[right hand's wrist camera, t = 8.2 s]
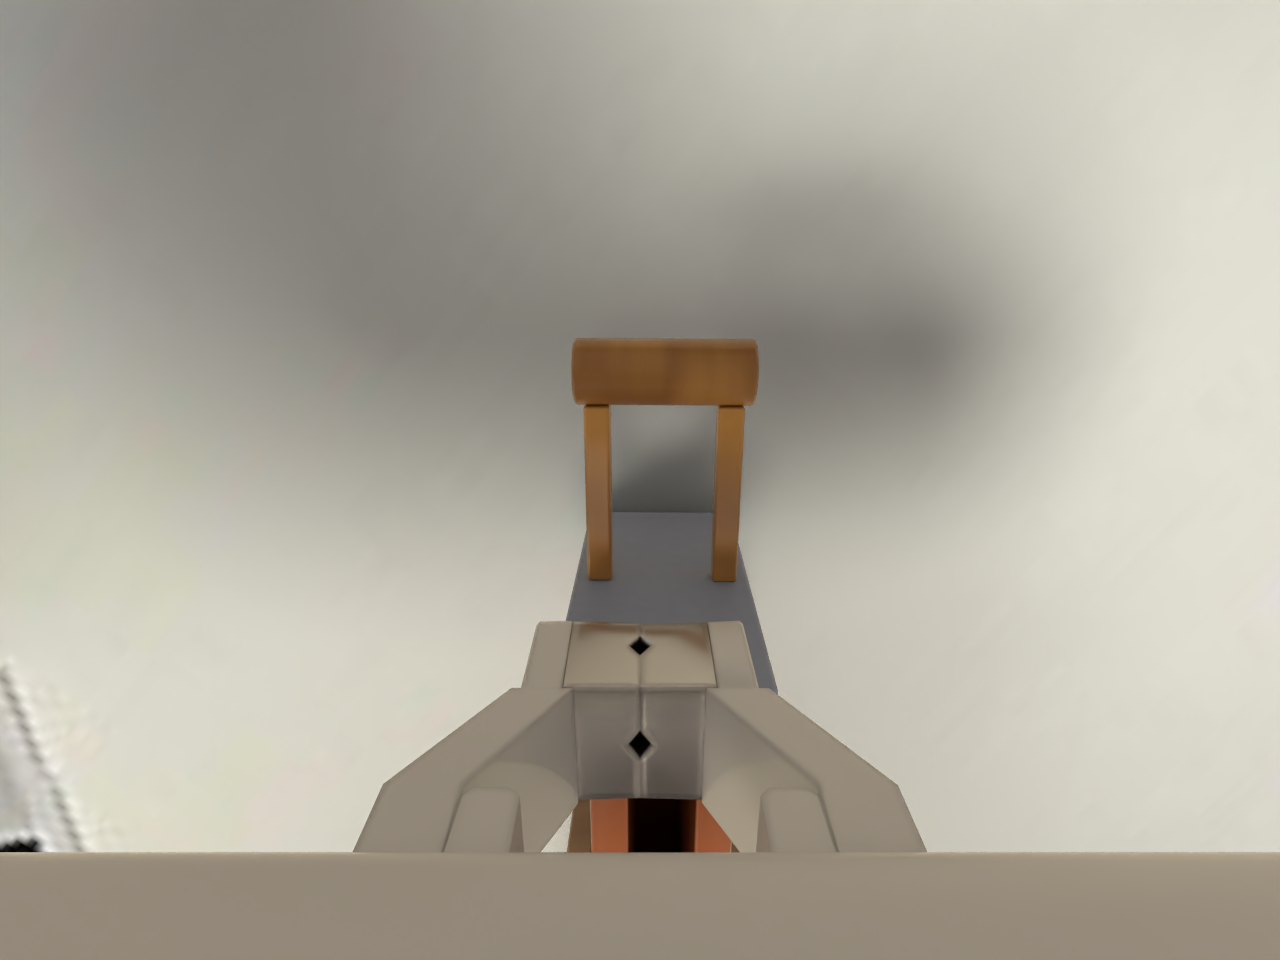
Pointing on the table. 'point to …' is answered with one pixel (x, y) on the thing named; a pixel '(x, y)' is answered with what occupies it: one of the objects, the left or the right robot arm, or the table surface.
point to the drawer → (664, 543)
